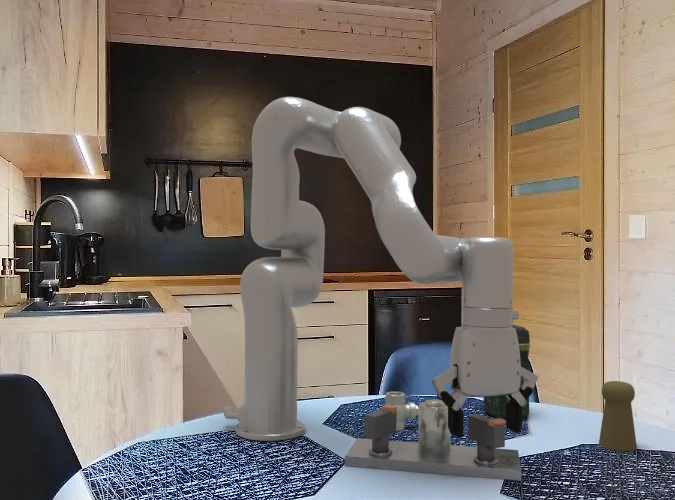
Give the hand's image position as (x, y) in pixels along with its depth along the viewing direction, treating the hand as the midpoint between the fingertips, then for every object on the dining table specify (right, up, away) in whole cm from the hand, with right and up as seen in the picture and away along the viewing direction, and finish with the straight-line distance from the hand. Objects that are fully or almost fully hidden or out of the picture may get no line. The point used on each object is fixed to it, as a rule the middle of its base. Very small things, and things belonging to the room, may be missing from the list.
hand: (485, 432), depth 98 cm
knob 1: (-15, -4, +4) cm, 16 cm away
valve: (-8, -6, +25) cm, 26 cm away
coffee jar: (+12, -6, +35) cm, 38 cm away
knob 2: (0, -4, 0) cm, 4 cm away
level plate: (-7, -6, +4) cm, 10 cm away
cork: (+26, -6, +14) cm, 30 cm away
